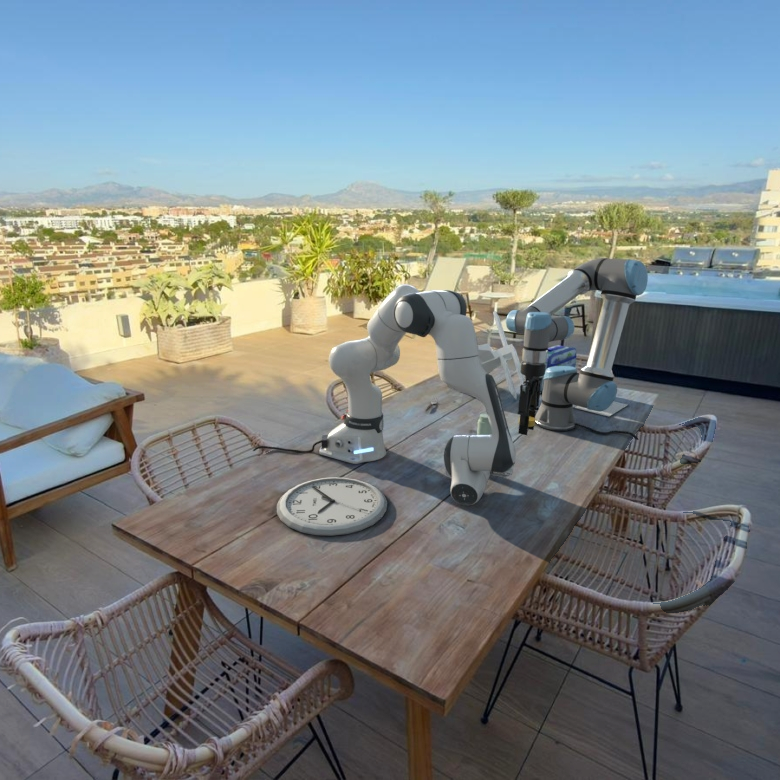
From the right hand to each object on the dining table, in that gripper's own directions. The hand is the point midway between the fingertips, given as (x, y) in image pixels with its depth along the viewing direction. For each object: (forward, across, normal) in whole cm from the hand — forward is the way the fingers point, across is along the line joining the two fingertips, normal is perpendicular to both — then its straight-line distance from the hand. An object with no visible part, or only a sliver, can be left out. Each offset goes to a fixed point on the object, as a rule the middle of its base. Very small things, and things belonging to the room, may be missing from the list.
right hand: (526, 431), depth 171 cm
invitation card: (+9, -72, +8) cm, 73 cm away
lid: (-4, 0, 0) cm, 4 cm away
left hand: (+4, +16, -7) cm, 18 cm away
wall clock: (+11, +60, -31) cm, 69 cm away
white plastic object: (+9, -59, -43) cm, 74 cm away
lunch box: (+9, -83, -17) cm, 85 cm away
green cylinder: (+10, +17, -7) cm, 21 cm away
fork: (+10, -28, -51) cm, 59 cm away
